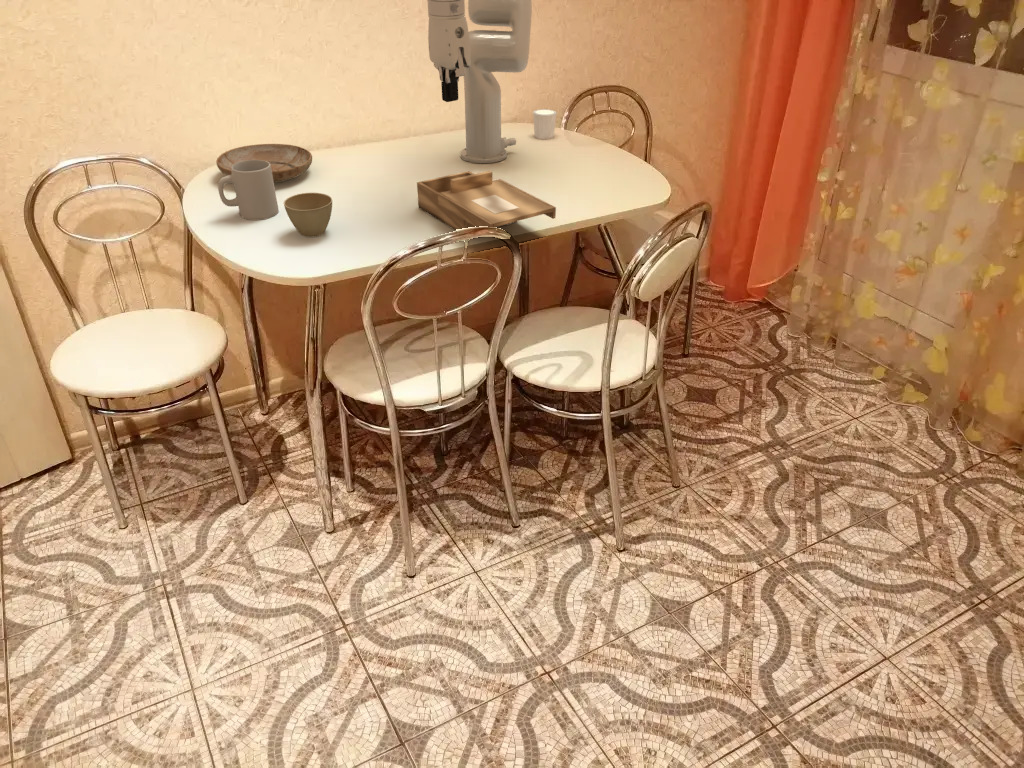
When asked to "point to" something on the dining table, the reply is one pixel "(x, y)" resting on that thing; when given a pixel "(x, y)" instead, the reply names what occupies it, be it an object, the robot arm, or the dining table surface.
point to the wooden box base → (430, 200)
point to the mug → (251, 189)
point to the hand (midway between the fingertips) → (450, 100)
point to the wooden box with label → (491, 201)
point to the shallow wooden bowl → (269, 159)
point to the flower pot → (309, 212)
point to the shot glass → (544, 123)
